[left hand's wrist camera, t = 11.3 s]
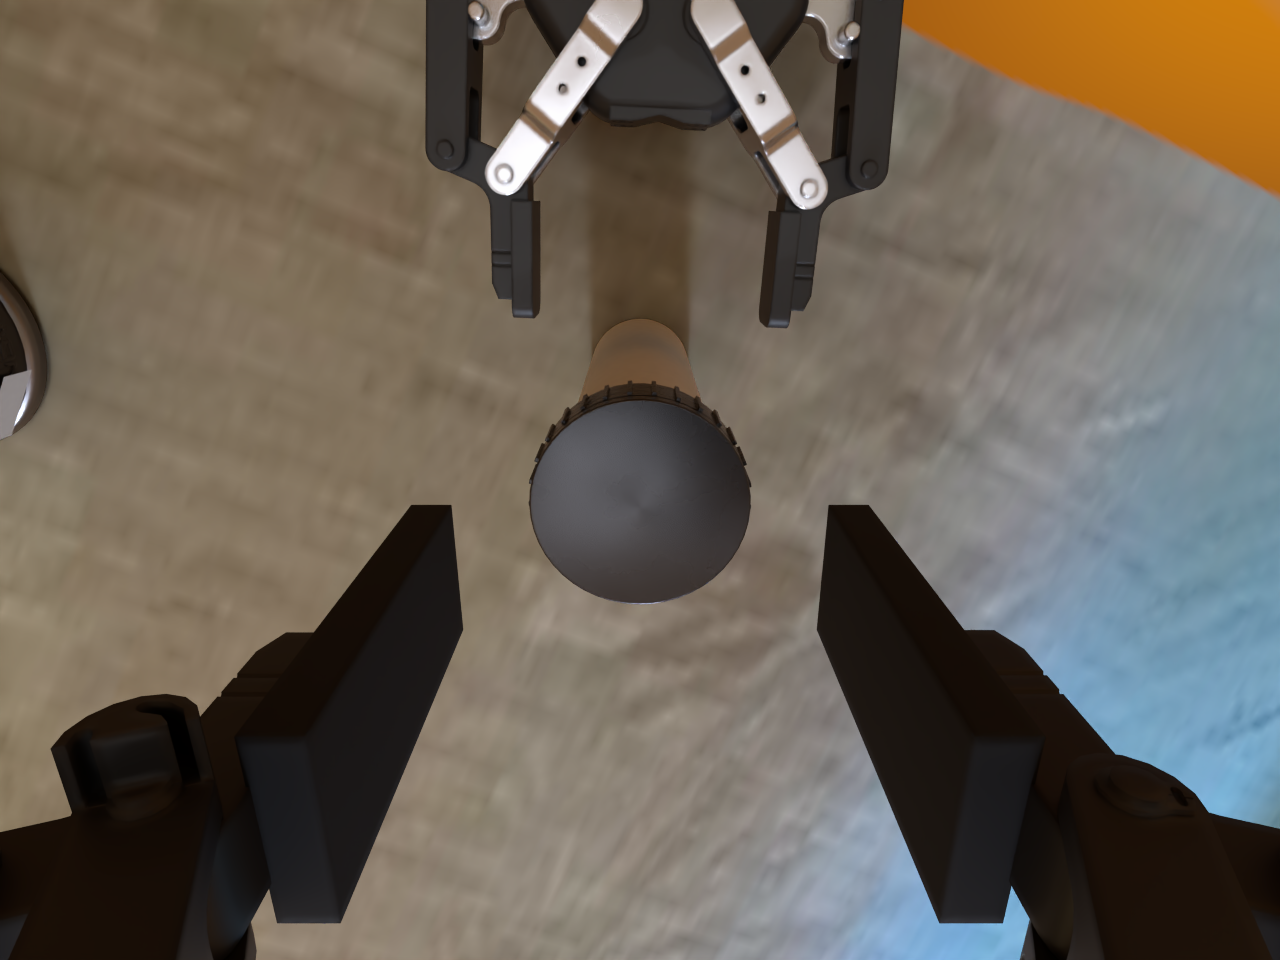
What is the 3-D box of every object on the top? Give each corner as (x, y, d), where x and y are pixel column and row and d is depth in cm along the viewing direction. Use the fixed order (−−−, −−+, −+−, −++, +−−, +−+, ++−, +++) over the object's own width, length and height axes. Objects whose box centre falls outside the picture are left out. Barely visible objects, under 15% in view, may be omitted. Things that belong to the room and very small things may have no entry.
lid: (774, 413, 18) (786, 433, 17) (706, 596, 20) (712, 630, 19) (565, 352, 18) (557, 366, 16) (514, 546, 20) (503, 576, 18)
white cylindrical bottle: (700, 334, 32) (752, 444, 17) (671, 424, 33) (696, 596, 19) (606, 306, 32) (577, 393, 17) (581, 398, 33) (533, 554, 18)
